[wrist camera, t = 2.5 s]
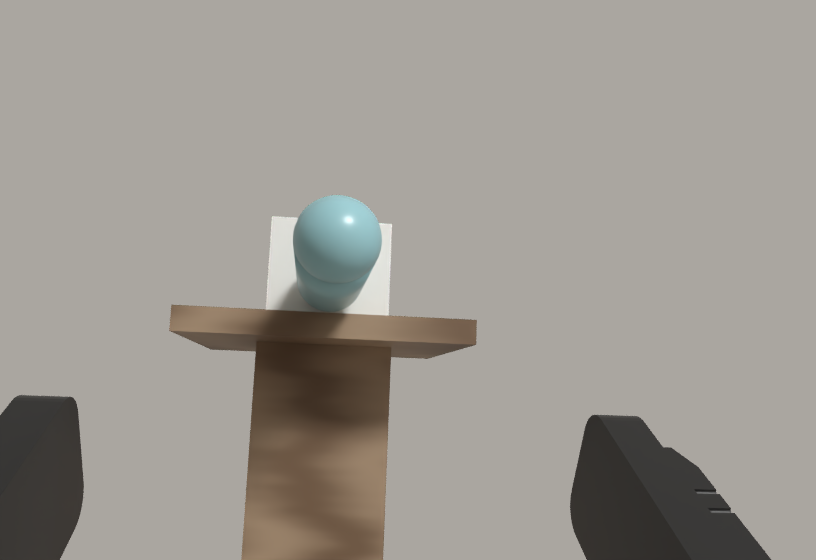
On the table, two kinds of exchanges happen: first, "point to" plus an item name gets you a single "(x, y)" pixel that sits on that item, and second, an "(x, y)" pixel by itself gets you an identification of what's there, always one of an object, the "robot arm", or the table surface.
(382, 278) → the white block with ball
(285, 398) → the stand
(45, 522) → the robot arm
